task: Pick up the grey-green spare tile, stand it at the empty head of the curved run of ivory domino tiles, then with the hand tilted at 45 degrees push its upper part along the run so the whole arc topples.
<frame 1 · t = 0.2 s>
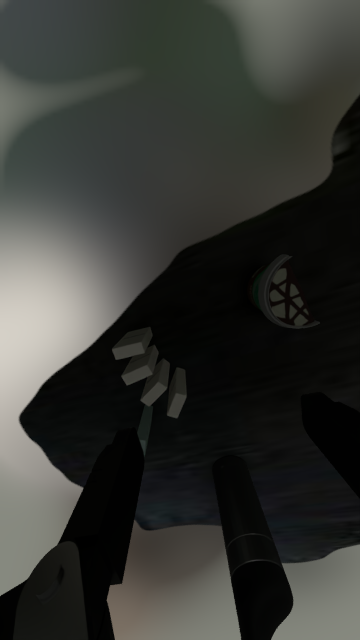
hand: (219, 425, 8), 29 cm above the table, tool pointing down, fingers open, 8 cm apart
domino 3: (146, 353, 38), on the table
food container: (257, 295, 36), on the table
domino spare: (148, 414, 42), on the table
domino 4: (140, 333, 37), on the table
domino 1: (177, 377, 40), on the table
domino 2: (159, 368, 39), on the table
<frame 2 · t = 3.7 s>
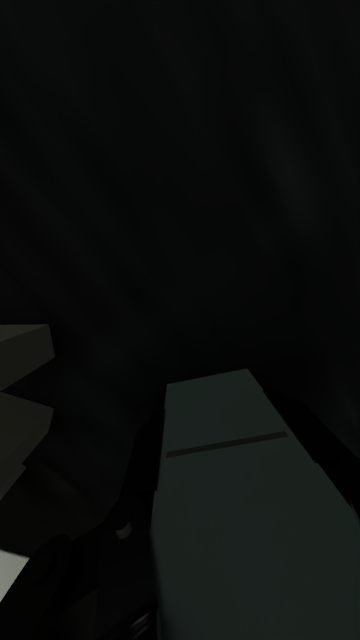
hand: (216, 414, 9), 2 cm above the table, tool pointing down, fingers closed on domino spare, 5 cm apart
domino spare: (209, 390, 11), on the table, touching gripper
domino 1: (9, 341, 10), on the table
domino 2: (12, 408, 11), on the table
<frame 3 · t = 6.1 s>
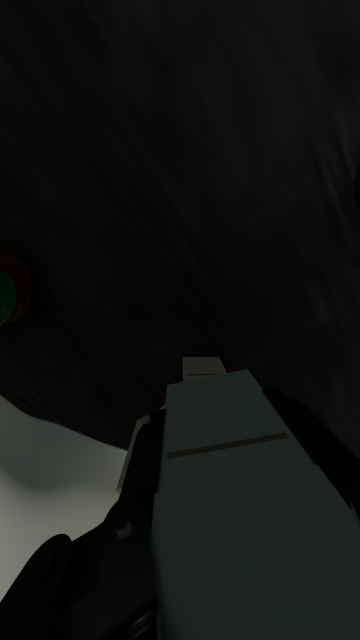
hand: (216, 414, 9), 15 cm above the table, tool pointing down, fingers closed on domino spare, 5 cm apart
food container: (21, 299, 22), on the table
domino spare: (209, 391, 11), point 13 cm above the table, touching gripper
domino 4: (152, 428, 27), on the table
domino 1: (200, 363, 24), on the table
when the fingers open (2 cm above the table, at t = 8.7 s): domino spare stays where it is, on the table.
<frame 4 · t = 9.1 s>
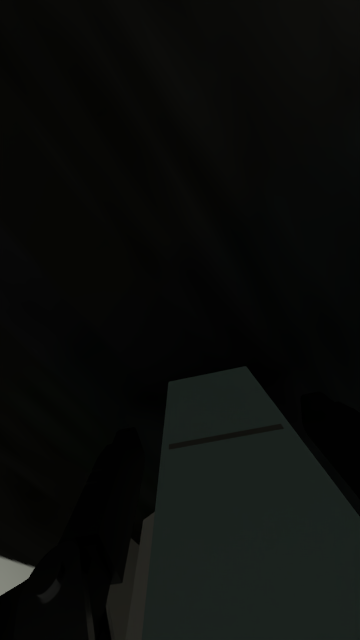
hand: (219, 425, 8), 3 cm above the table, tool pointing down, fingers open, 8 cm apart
domino 3: (173, 529, 14), on the table
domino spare: (209, 387, 11), on the table
domino 4: (130, 550, 15), on the table
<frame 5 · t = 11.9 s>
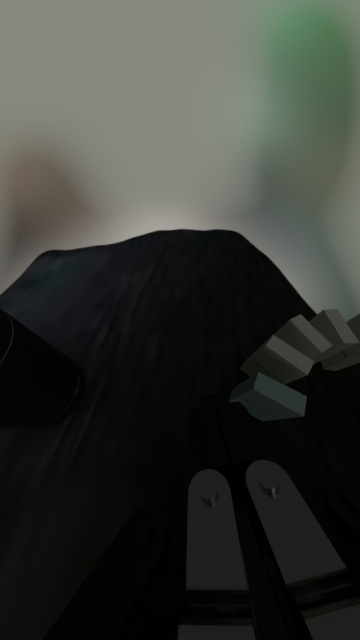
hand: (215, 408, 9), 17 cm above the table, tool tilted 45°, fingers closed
domino 3: (297, 352, 30), on the table
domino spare: (246, 404, 25), on the table
domino 4: (324, 355, 30), on the table
domino 1: (256, 374, 28), on the table
domino 2: (274, 357, 29), on the table
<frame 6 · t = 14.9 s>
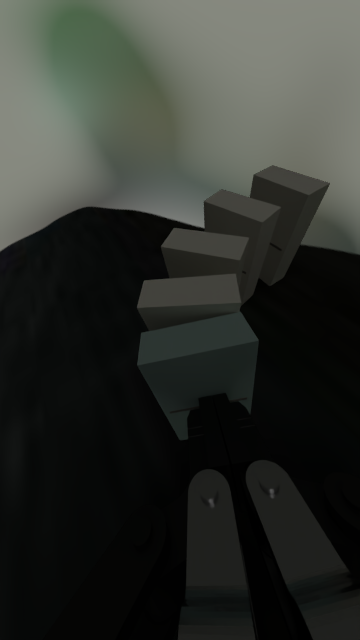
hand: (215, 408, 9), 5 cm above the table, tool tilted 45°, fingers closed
domino 3: (228, 288, 20), on the table
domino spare: (210, 419, 13), on the table, tilted 20°, touching domino 1
domino 4: (259, 269, 21), on the table
domino 1: (198, 360, 16), on the table, touching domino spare
domino 2: (206, 317, 18), on the table
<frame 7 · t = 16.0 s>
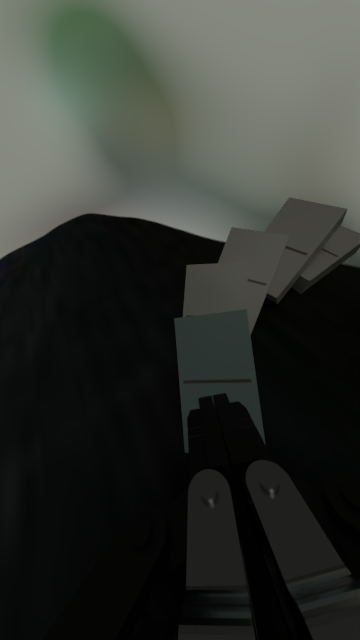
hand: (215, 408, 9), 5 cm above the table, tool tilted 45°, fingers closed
domino 3: (254, 289, 18), point 1 cm above the table, tilted 62°, touching domino 2, domino 4
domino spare: (224, 447, 12), point 1 cm above the table, tilted 67°, touching domino 1
domino 4: (283, 274, 19), point 1 cm above the table, tilted 89°, touching domino 3
domino 1: (210, 372, 15), point 1 cm above the table, tilted 66°, touching domino 2, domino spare
domino 2: (223, 325, 17), point 1 cm above the table, tilted 64°, touching domino 1, domino 3
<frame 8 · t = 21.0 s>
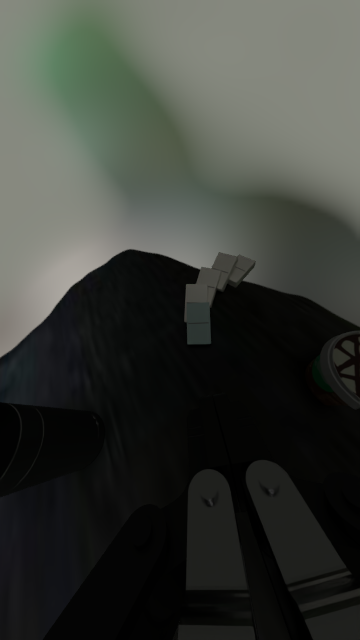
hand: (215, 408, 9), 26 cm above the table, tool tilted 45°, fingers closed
domino 3: (213, 288, 45), point 1 cm above the table, tilted 66°, touching domino 2, domino 4
food container: (317, 372, 33), on the table
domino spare: (199, 344, 38), point 1 cm above the table, tilted 67°, touching domino 1
domino 4: (227, 281, 46), point 1 cm above the table, tilted 89°, touching domino 3
domino 1: (195, 322, 41), point 1 cm above the table, tilted 67°, touching domino 2, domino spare
domino 2: (201, 304, 43), point 1 cm above the table, tilted 66°, touching domino 1, domino 3
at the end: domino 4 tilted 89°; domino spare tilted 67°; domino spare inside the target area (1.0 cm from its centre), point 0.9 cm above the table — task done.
